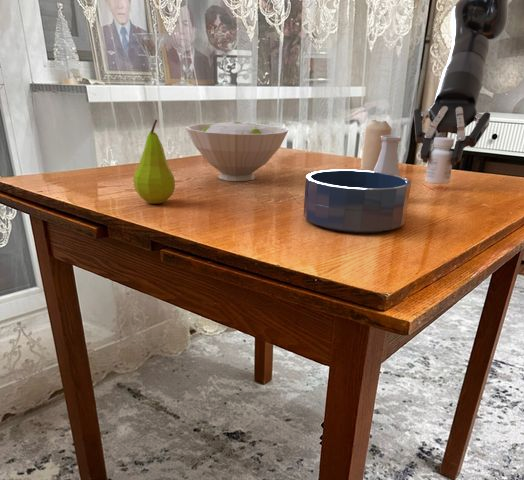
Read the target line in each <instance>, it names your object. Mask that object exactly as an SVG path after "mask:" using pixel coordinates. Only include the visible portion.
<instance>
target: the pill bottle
mask: <svg viewBox="0 0 524 480" xmlns="http://www.w3.org/2000/svg"><path fill="white" fill-rule="evenodd" d="M454 141H455V139H454V138H453V137H446V136H445V137H444V136H438V137H436V138H434V142H433V143H432V147H433V149H431V151H430V153H429V158H428V161H427V163H426V171H425V178H424V181H425V182H426V183H428V184H432V185H447V184H449V183H450V181H451V176H452V171H453V170H452V169H453V165H451V159H452V155H453V151H454V150H452V148H453V147H454V144H455V143H454Z"/></svg>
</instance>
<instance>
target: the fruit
mask: <svg viewBox="0 0 524 480" xmlns="http://www.w3.org/2000/svg"><path fill="white" fill-rule="evenodd" d="M157 122H158V119H155V120H154V122H153V125H152V128H151V130H150V132H149V133H148V135H147V137H146V141H145V144H144V149H143V152H142V154H141V157H140V160H139V163H138V165H137V168H136V170H135V172H134V174H133V179H132V181H133V187H134V190H135V192H136V193H137V194H138V196H139V197H140V198H141V199H143V200H144V201H145V202H146V203H148V204H153V205H158V204H163V203H165V202H167V201H168V200H169V199H170V198H171V197H172V196H173V194H174V191H175V188H176V182H175V181H176V180H175V177H174V174H173V172H172V171H171V168H170V166H169V165H168V161H167V157H166V155H165V150H164V147H163V144H162V142H161V140H160V137H159V136H158V134H157V133H156V132H155V128H156V125H157Z"/></svg>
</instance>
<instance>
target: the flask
mask: <svg viewBox="0 0 524 480" xmlns="http://www.w3.org/2000/svg"><path fill="white" fill-rule="evenodd" d="M381 140H382V148H381V152H380V156H379V159H378V162H377V164H376V166H375V169H374V171H373V172H381V173H387V174H392V175H396V176H400V177H401V173H400V169H399V156H398V151H399V143H400V142H401V140H402V137H401V136H399V135H392V134H391V135H383V136H381Z"/></svg>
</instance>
